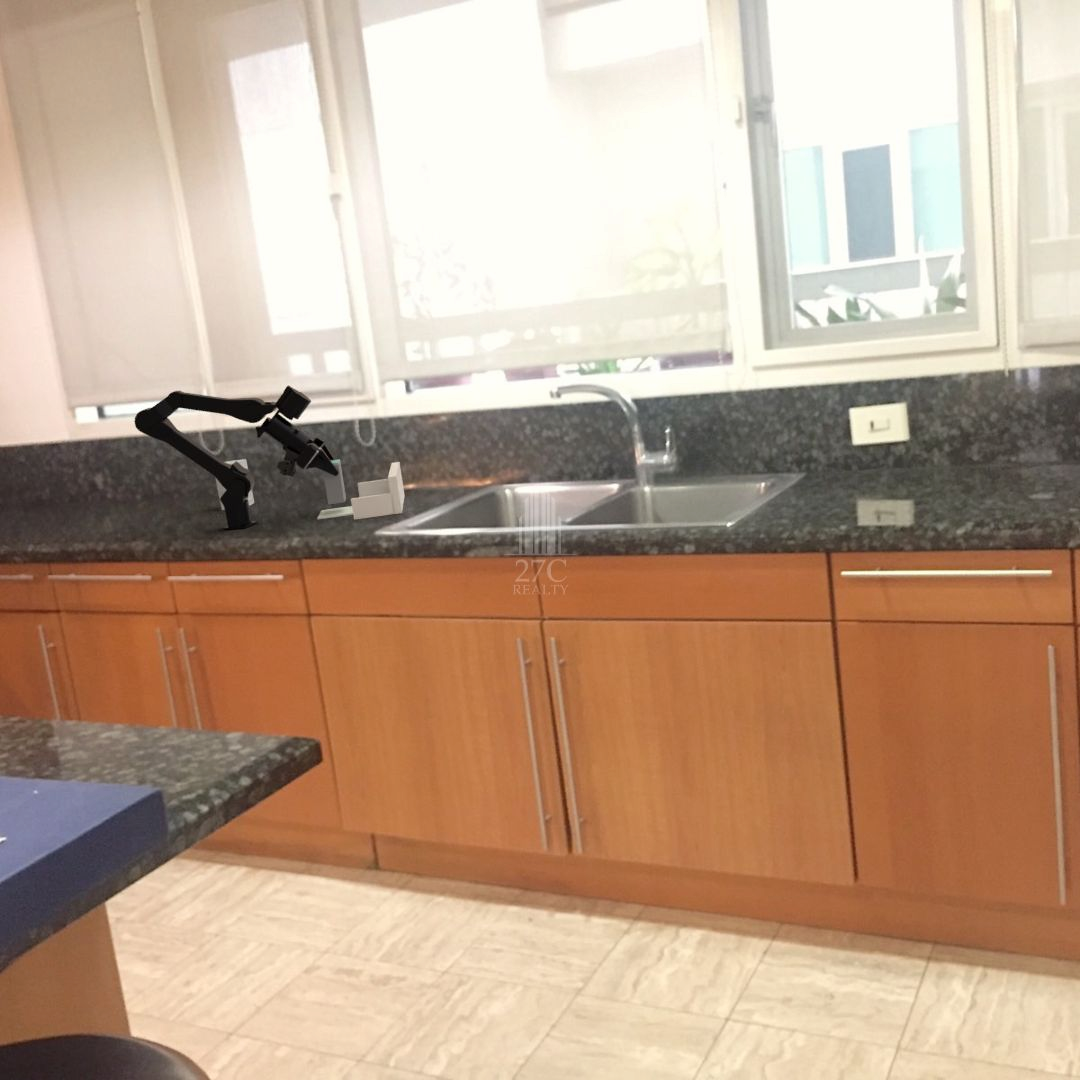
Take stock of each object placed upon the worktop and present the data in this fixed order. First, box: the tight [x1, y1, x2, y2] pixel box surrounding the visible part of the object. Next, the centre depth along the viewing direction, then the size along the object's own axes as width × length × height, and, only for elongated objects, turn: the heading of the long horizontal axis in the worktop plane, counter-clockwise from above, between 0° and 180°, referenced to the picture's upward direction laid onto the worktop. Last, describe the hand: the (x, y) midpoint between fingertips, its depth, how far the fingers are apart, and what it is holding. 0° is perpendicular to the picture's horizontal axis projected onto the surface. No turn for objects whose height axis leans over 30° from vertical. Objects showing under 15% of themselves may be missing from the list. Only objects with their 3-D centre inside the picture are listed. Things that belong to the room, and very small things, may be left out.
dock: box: [350, 461, 405, 520], centre depth 297 cm, size 12×26×9 cm, turn 5°
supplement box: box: [214, 458, 255, 511], centre depth 328 cm, size 7×7×13 cm
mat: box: [316, 505, 353, 520], centre depth 298 cm, size 10×11×1 cm
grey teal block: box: [322, 459, 347, 505], centre depth 296 cm, size 4×6×10 cm, turn 5°
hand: (338, 472), depth 296 cm, fingers closed on grey teal block, 6 cm apart
